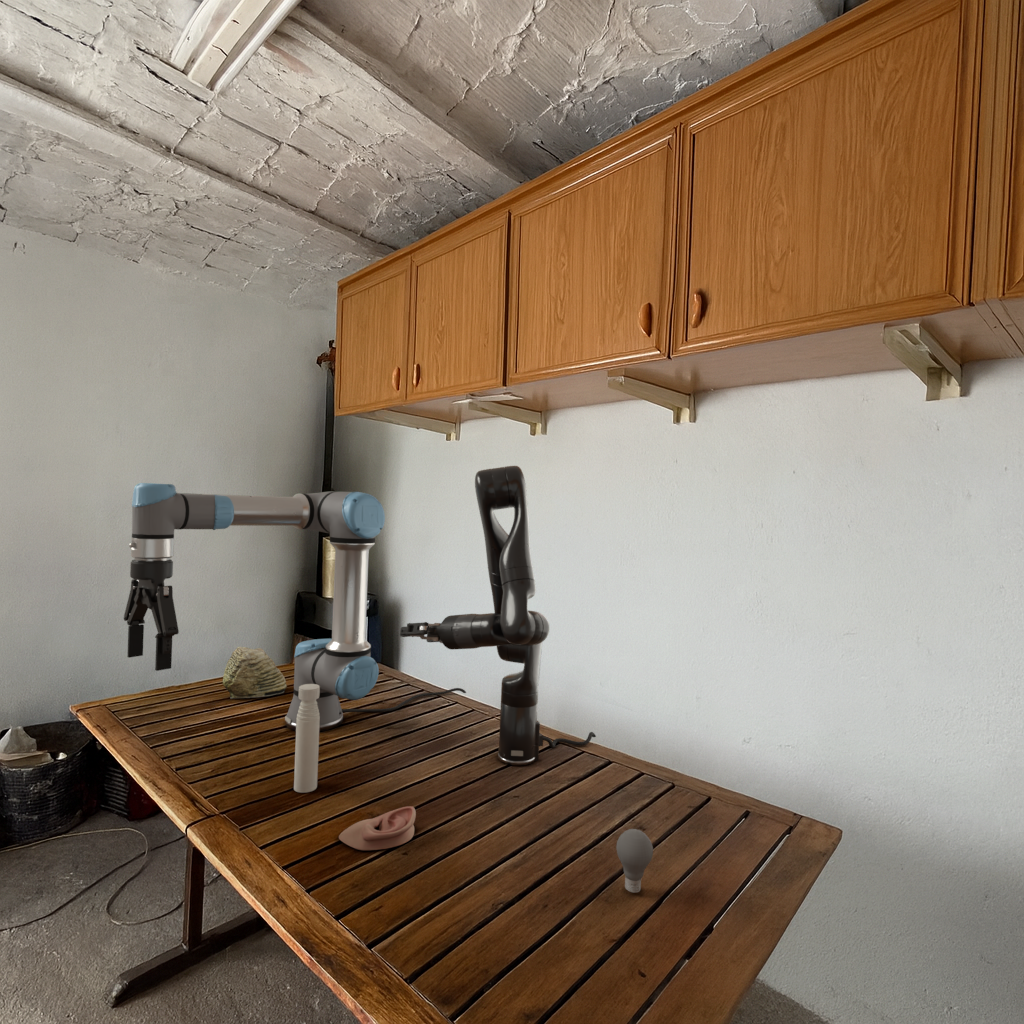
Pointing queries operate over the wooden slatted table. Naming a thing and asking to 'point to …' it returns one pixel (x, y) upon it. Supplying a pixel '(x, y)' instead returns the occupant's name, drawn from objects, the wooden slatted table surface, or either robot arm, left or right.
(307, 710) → the bottle
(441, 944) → the wooden slatted table surface
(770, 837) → the wooden slatted table surface
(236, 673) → the fossil
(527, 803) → the wooden slatted table surface
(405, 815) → the anatomical model
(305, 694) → the cap
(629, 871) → the light bulb
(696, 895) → the wooden slatted table surface
